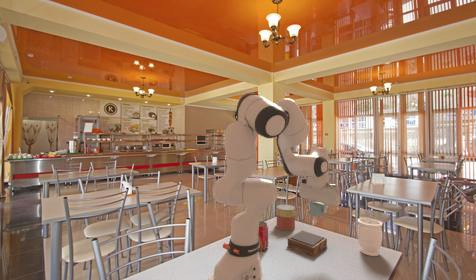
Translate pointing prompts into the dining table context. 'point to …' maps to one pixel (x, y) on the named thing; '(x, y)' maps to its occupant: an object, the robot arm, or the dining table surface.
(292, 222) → the canned food
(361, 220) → the jar
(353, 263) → the dining table surface
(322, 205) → the pale green block
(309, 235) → the walnut picture frame
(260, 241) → the beverage can
